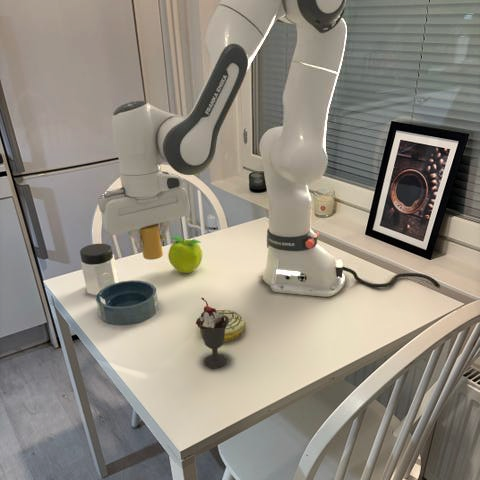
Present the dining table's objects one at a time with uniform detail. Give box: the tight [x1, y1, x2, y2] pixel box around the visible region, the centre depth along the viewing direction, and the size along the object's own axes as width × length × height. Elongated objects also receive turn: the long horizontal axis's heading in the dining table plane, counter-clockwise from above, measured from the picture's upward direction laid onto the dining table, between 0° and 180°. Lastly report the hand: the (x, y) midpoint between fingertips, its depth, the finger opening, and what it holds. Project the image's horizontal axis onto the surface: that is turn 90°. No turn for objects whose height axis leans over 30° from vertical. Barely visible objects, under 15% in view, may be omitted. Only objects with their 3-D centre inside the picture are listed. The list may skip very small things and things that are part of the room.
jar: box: [79, 243, 120, 296], centre depth 131 cm, size 9×8×12 cm
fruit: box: [167, 235, 203, 274], centre depth 140 cm, size 9×9×10 cm
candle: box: [138, 223, 164, 261], centre depth 113 cm, size 5×5×8 cm
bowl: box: [95, 280, 159, 326], centre depth 122 cm, size 15×15×5 cm
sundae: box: [195, 297, 229, 369], centre depth 100 cm, size 7×7×15 cm
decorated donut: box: [198, 308, 246, 342], centre depth 113 cm, size 10×11×4 cm
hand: (151, 242), depth 114 cm, fingers closed on candle, 4 cm apart
